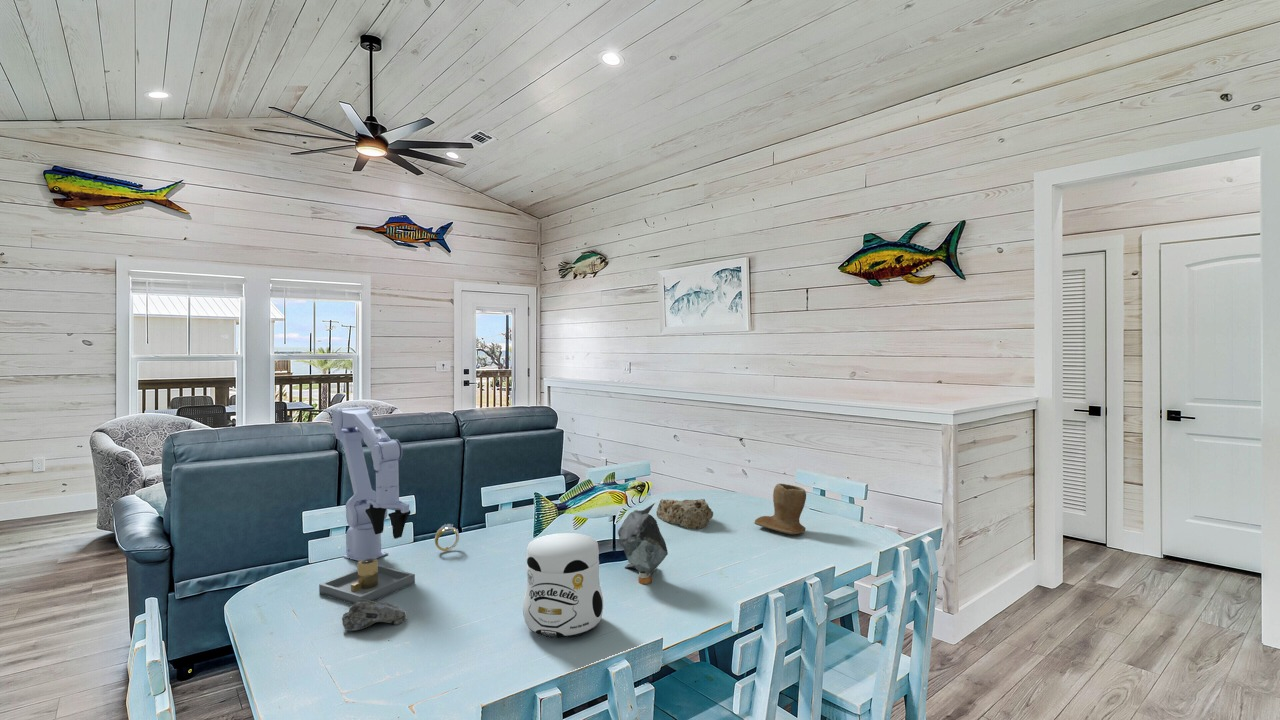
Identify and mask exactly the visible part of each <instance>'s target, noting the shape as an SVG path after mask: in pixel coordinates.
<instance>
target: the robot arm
mask: <svg viewBox="0 0 1280 720" xmlns="http://www.w3.org/2000/svg"><path fill="white" fill-rule="evenodd" d="M331 417H332V418H331V424H332V428H333V432H334V436H335V439H337V440H338V441H341V443H342V448H343V451H344V456H345V460H346V464H347V470H348V473H349V479H350V483H351V487H352V493H353V495H352V496H351V497H350V498H349V499H348V500H347V501H346V503H345V518H346V519H345V520H346V523H347V525H348V526H349V527H348V529H347V531H346V532H345V533H346V534H345V549H346V550H345V551H346V552H345V553H346V554H344V555H343V558H346V559H349V558H350V560H352V561H353V560H354V561H357V562H359V561H361V560H364V559H371V558H373V559H378V558H381V557H383V556H386V555H388V554H389V552H388V551H385V550H382V533H383V532H384V526H385V525H384V524H385V521H386V519H387V518H389V519H390V520H389V521H390V524H391V526H392V536H393V539H396V540H397V539H399V538H402V537H403V534H404V529H405V525H406V522H407V521H408V518H409V516H410V515H411V509H410V504H409V503H406V502H404V501H402V500H400V484H399V483H400V480H399V478H400V477H399V475H400V474H399V461H401V460H402V457H403V447H402V444H401V441H400V440H399V439H391V438H390V437H389V435H388V434H387V433H386V432H385V430H384V429H383V428H381V426H376V425H375V424H374V422H373V418H374V417H373V411H372V409H371V408H370V407H369V405H365V406H355V407H345V408H343V407H342V408H339V407H337V408H334V410H333V412H332V415H331ZM362 439H363V442H364V444H365V445H366V446H367V447H368V449H369V450H370V452H371V455H370V456H371V459H372V462H373V464H372V465H373V470H375V490H373V488H372V484H371V480H370V475H369V470H368V468H367V464H366V463H367V462H366V458H365V454H364V450H363V445H362ZM388 510H389V511H393V512H390V513H388Z"/></svg>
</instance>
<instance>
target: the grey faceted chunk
mask: <svg viewBox="0 0 1280 720" xmlns="http://www.w3.org/2000/svg"><path fill="white" fill-rule="evenodd" d="M655 504H656V502H654V503H652V504H651V505H649V506H648V507H646V508H645V509H642V510H637V509H635V510H633V511H632V512H630V513H629V514H628V515H627V516H626V518H625V519H624V521H623V522H622V524H621V525H620V527H619V529H618V530H617V535H618V539H619V542H620V546H621V548H622V549H623V552H624V554H625V557H626V559H627V561H628V564H626V566H624V569H631V570H637V571H638V583H639V584H641V585H649V584H651V583H652V581H653V580H652V579H653V578H652V575H653V573H654V571H655V570H656V569H657V568H658V567H659V566H660V565H661V564H662V562H663V561H664V560H665V559H666V557H667V556H668V554H669V553H668V547H667V544H666V541H665V537H663V535H662V533H661V531H660V528H659V524H658V521H657V520H656V518H654V516H653V515H652V514H649V513H650V511H651V510H652V508H654V506H655Z"/></svg>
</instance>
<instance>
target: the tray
mask: <svg viewBox="0 0 1280 720" xmlns="http://www.w3.org/2000/svg"><path fill="white" fill-rule="evenodd" d="M415 576H416V574H415V573H412V572H408V571H404V570H400V569H396V568H392V567H388V566H384V565H380V564H378V585H377V586H376V587H373V588H370V589H361V590H358V591H356V592H352V591H351V585H352V584H354V583H357V582H358V569H356V570H354V571H351V572H348V573H346V574H343V575H341V576H337V577H335V578H333V579H330V580H327V581H325V582H322V583H320V584H319V586H318V587H319V588H318V592H319V595H322V596H325V597H328V598H331V599H334V600H338V601H340V602H344V603H347V604H350V605H353V604H355V603H356V601H357V600H360V599H364V600H369V601H373V602H376V601H378V600H381V599H383V598H386V597H387V596H389V595H392V594H394V593H396V592H398V591H402V590H403V589H406V588H408V587H411V586H412V585H415V584H416V577H415Z"/></svg>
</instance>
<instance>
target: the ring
mask: <svg viewBox="0 0 1280 720" xmlns="http://www.w3.org/2000/svg"><path fill="white" fill-rule="evenodd" d="M453 526H454V524H452V523H447V524H446V523H444V525H441V527H440V528H439V529H437V531H436V533H435V536H434V544H435V546H436V547H437V549H438V550H439V551H442V552H450V551H451V550H454V549H455V547H456V546H458V543H459V541H460V533H459V531H458V529H457V528H456V527H453ZM449 530H450V531H453V532H454V534H455V541H454V543H453V544H452V545H450V547H449V546H447V547H445V548H443V547H441V546H440V545H439V539H440V537H441V536H442V534H444V533H445V532H446V531H449Z"/></svg>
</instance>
